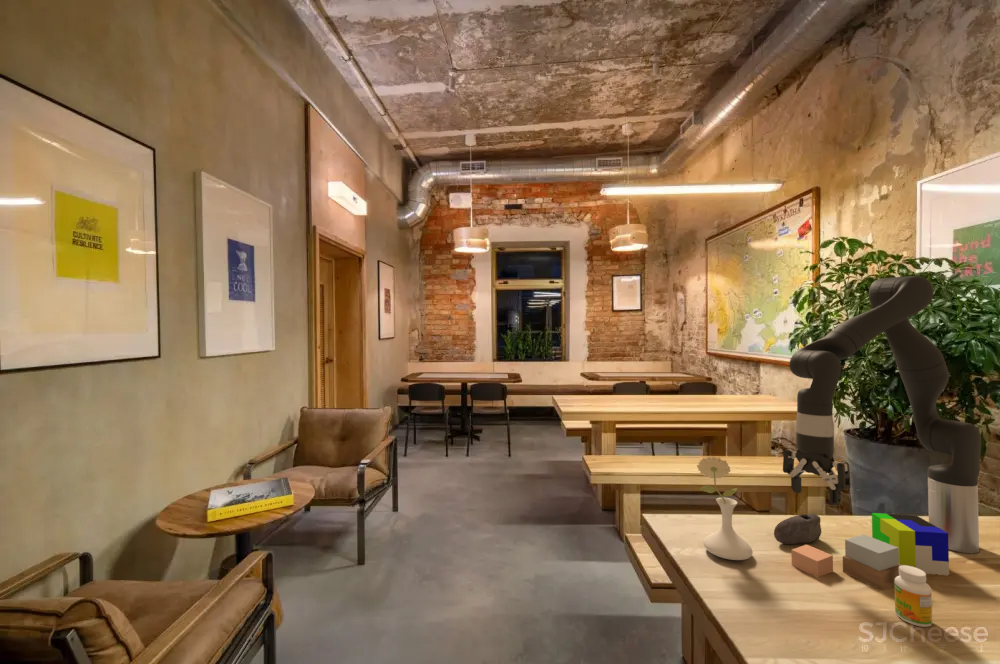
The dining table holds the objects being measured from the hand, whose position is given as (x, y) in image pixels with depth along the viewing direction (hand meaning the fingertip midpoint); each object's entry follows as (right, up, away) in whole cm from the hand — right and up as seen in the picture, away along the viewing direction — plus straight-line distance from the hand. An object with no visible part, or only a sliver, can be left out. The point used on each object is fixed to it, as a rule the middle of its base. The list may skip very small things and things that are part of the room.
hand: (814, 498), depth 105 cm
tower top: (+11, -13, -4) cm, 17 cm away
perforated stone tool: (+5, -17, +13) cm, 22 cm away
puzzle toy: (+25, -17, +2) cm, 30 cm away
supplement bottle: (+6, -17, -19) cm, 26 cm away
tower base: (+11, -17, -4) cm, 21 cm away
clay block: (-1, -17, 0) cm, 17 cm away
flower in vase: (-18, -18, +8) cm, 26 cm away
